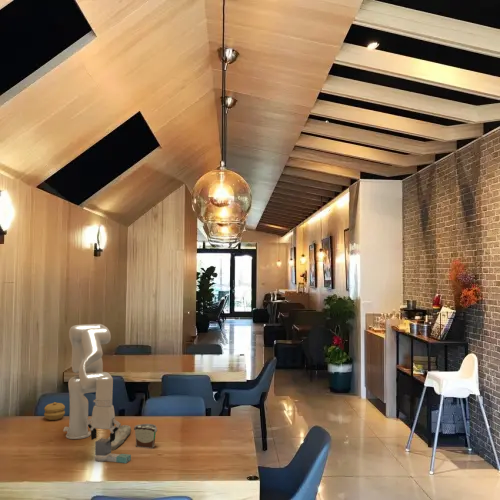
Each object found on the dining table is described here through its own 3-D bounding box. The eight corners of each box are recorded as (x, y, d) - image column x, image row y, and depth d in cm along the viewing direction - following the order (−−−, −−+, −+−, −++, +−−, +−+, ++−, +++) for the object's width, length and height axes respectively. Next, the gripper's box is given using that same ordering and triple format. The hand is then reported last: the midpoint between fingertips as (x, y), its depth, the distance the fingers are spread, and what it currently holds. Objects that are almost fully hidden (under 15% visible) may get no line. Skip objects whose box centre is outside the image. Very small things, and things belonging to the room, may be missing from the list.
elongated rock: (98, 454, 246) (118, 455, 246) (98, 443, 246) (119, 444, 246) (116, 429, 281) (134, 430, 281) (116, 419, 281) (134, 420, 281)
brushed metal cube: (95, 454, 233) (95, 441, 233) (101, 451, 238) (101, 438, 238) (105, 455, 231) (105, 442, 232) (111, 452, 236) (111, 439, 237)
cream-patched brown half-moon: (161, 445, 254) (161, 424, 255) (155, 448, 248) (155, 428, 249) (140, 442, 258) (140, 422, 259) (133, 446, 252) (133, 425, 253)
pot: (49, 416, 309) (50, 399, 310) (68, 416, 308) (68, 400, 309) (40, 421, 298) (40, 404, 298) (59, 422, 296) (59, 404, 297)
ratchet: (92, 461, 232) (92, 445, 232) (100, 455, 238) (100, 440, 239) (124, 464, 227) (124, 448, 228) (132, 459, 234) (132, 443, 235)
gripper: (83, 403, 235) (82, 440, 234) (116, 406, 230) (115, 444, 229) (92, 399, 242) (91, 435, 241) (124, 402, 237) (123, 439, 237)
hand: (103, 439), depth 235 cm, fingers open, 9 cm apart
